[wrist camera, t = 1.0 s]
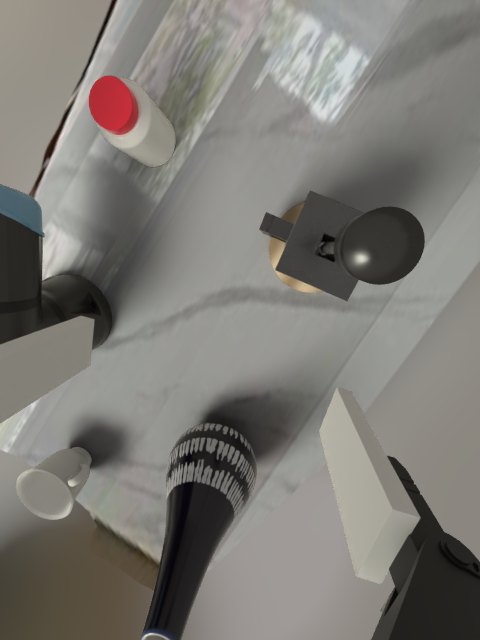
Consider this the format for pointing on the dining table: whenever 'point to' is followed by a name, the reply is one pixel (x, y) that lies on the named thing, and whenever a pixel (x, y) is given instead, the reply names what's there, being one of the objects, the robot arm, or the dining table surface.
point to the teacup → (54, 483)
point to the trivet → (277, 250)
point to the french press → (312, 244)
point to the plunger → (376, 245)
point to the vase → (197, 518)
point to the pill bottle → (131, 120)
